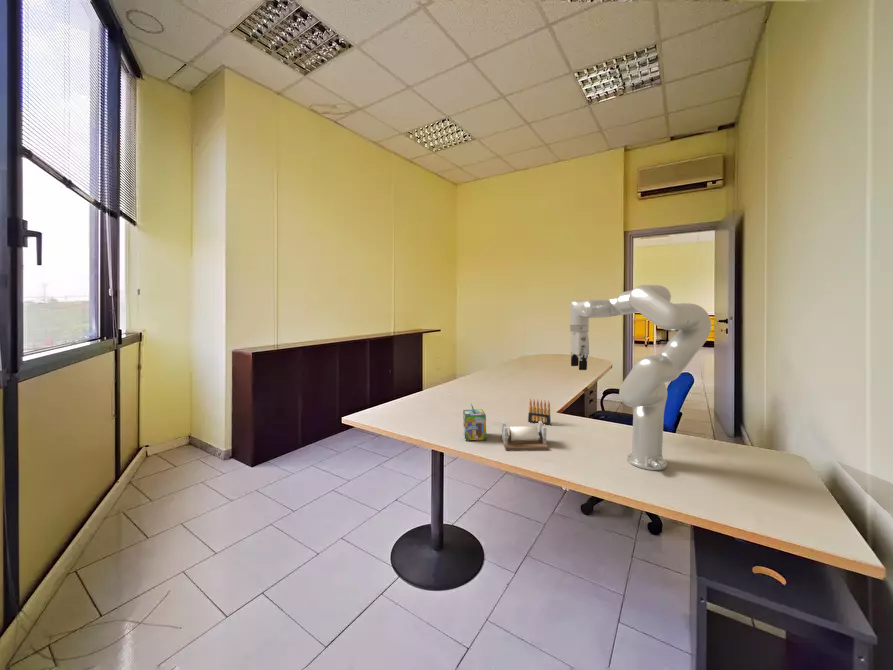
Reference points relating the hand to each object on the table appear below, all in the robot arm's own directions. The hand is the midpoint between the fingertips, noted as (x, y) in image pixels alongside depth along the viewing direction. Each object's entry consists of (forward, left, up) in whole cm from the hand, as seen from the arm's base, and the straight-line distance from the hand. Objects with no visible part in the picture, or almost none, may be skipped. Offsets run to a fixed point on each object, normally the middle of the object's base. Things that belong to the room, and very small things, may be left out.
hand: (578, 367), depth 153 cm
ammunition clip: (+16, +13, -31) cm, 37 cm away
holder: (-9, +26, -30) cm, 41 cm away
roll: (-9, +26, -29) cm, 40 cm away
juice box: (-1, +46, -31) cm, 55 cm away
